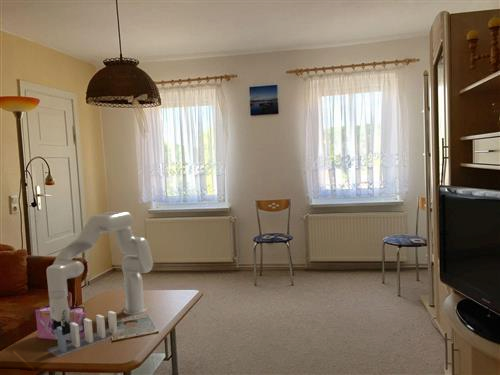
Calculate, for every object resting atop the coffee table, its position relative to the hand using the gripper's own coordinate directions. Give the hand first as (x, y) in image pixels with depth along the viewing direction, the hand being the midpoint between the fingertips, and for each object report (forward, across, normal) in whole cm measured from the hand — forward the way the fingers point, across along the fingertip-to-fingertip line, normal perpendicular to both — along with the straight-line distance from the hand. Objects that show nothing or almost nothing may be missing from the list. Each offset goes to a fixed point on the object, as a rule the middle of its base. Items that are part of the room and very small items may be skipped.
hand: (62, 331), depth 178 cm
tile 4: (+9, 0, +5) cm, 10 cm away
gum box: (+9, -16, +6) cm, 19 cm away
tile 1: (+9, 0, +23) cm, 25 cm away
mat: (+9, -1, +15) cm, 18 cm away
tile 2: (+9, 0, +17) cm, 19 cm away
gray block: (+8, 0, -1) cm, 9 cm away
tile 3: (+9, 0, +11) cm, 14 cm away
